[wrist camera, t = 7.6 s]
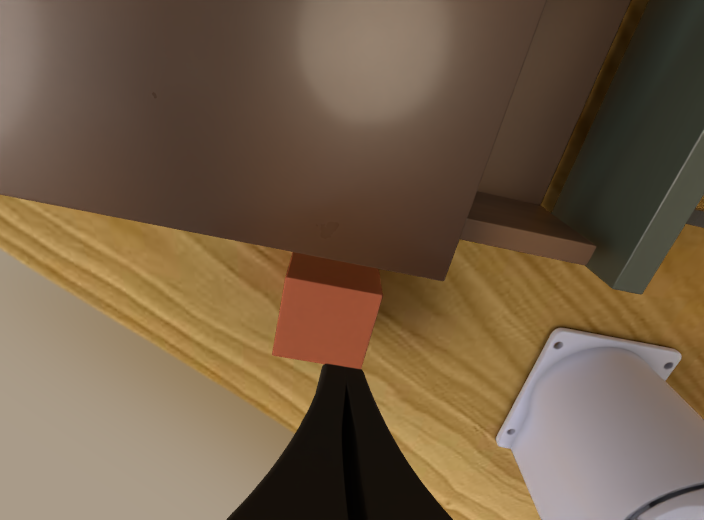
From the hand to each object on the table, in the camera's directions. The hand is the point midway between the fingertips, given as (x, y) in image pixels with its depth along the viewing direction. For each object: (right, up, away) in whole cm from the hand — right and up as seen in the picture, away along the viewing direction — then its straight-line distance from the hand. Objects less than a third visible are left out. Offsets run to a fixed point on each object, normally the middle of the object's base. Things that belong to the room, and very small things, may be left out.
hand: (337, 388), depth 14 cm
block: (-1, +3, +8) cm, 9 cm away
